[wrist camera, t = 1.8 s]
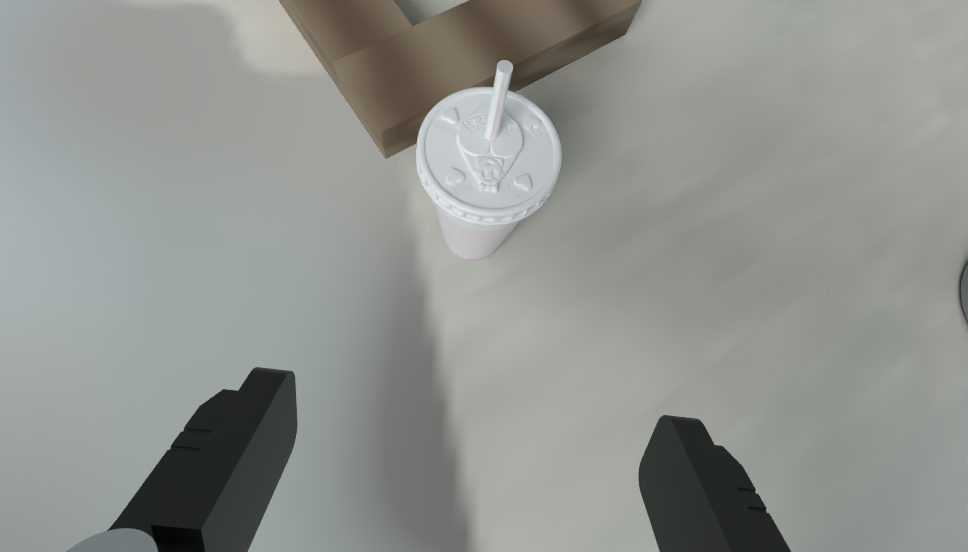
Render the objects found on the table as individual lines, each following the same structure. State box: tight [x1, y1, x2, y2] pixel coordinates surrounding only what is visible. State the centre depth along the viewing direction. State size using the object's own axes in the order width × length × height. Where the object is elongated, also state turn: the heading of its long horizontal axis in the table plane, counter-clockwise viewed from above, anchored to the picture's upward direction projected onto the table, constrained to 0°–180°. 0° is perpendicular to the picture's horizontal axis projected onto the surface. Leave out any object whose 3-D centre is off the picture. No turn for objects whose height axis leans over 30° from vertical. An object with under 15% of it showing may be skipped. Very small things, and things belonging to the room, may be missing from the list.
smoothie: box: [416, 60, 562, 260], centre depth 23 cm, size 6×6×14 cm
